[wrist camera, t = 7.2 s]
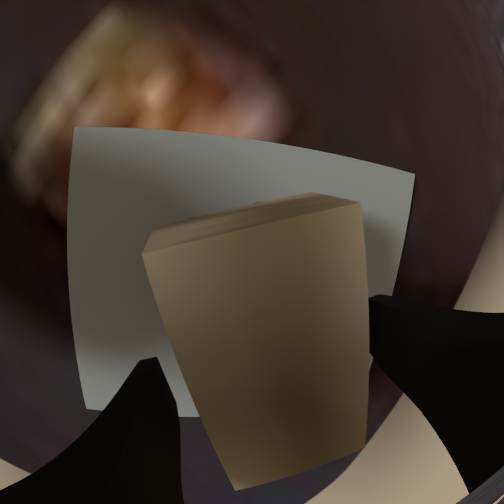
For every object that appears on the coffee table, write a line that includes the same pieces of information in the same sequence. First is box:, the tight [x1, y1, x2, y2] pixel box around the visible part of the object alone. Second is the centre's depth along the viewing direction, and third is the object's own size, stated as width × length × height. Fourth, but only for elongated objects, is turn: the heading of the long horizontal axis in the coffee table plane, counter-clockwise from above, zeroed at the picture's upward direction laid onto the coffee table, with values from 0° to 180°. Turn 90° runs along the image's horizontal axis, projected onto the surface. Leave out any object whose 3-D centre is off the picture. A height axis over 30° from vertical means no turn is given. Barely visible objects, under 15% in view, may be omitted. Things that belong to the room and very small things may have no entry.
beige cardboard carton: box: [142, 192, 369, 491], centre depth 11 cm, size 5×9×6 cm, turn 11°
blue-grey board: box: [67, 127, 415, 417], centre depth 15 cm, size 16×14×1 cm
